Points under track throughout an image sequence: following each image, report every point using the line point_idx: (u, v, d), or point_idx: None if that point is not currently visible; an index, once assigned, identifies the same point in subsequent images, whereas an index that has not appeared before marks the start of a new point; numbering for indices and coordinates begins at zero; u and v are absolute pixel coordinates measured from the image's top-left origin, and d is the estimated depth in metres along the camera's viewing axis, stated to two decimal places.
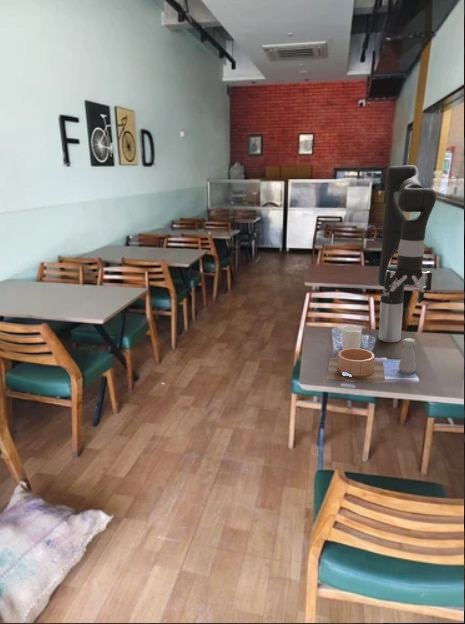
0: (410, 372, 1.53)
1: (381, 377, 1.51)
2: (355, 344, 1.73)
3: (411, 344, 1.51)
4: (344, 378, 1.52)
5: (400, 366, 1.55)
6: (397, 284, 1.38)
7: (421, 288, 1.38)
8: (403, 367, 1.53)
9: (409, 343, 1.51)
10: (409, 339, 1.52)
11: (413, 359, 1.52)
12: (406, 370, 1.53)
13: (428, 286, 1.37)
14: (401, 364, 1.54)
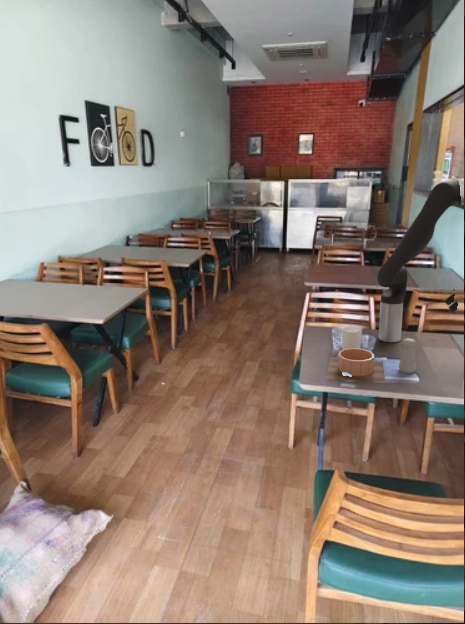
0: (410, 372, 1.53)
1: (381, 377, 1.51)
2: (355, 344, 1.73)
3: (411, 344, 1.51)
4: (344, 378, 1.52)
5: (400, 366, 1.55)
6: None
7: None
8: (403, 367, 1.53)
9: (409, 343, 1.51)
10: (409, 339, 1.52)
11: (413, 359, 1.52)
12: (406, 370, 1.53)
13: None
14: (401, 364, 1.54)
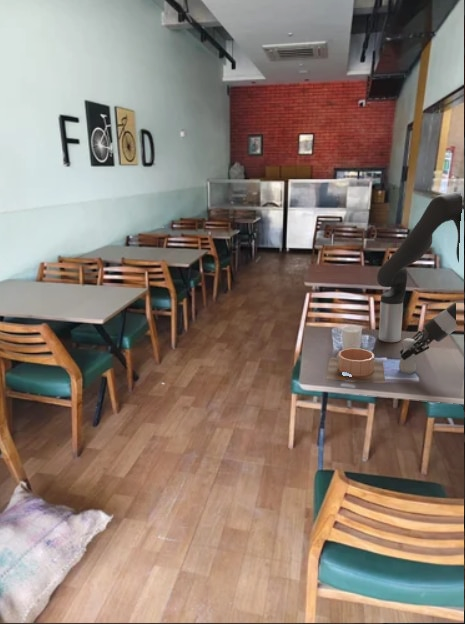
0: (410, 372, 1.53)
1: (381, 377, 1.51)
2: (355, 344, 1.73)
3: (411, 344, 1.51)
4: (344, 378, 1.52)
5: (400, 366, 1.55)
6: None
7: None
8: (403, 367, 1.53)
9: (409, 343, 1.51)
10: (409, 339, 1.52)
11: (413, 359, 1.52)
12: (406, 370, 1.53)
13: None
14: (401, 364, 1.54)
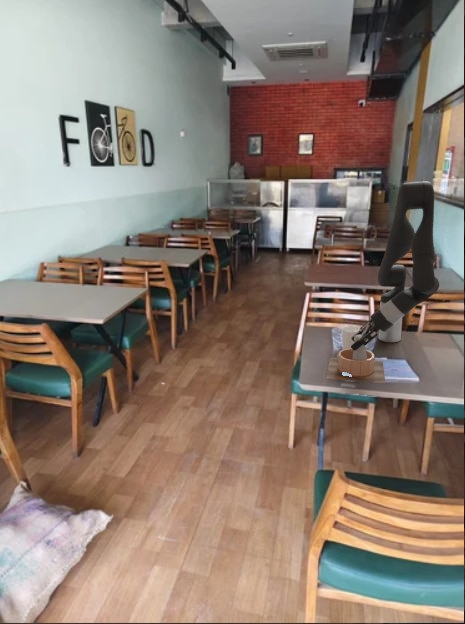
0: None
1: (381, 377, 1.51)
2: None
3: None
4: (344, 378, 1.52)
5: None
6: None
7: None
8: None
9: None
10: (360, 335, 1.53)
11: (364, 355, 1.53)
12: None
13: None
14: None
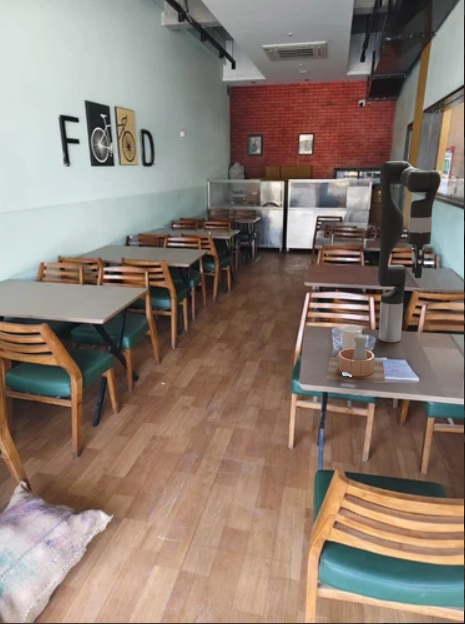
0: None
1: (381, 377, 1.51)
2: (355, 344, 1.73)
3: (362, 340, 1.51)
4: (344, 378, 1.52)
5: None
6: None
7: None
8: None
9: (360, 339, 1.51)
10: (360, 336, 1.53)
11: (364, 356, 1.53)
12: None
13: None
14: None
